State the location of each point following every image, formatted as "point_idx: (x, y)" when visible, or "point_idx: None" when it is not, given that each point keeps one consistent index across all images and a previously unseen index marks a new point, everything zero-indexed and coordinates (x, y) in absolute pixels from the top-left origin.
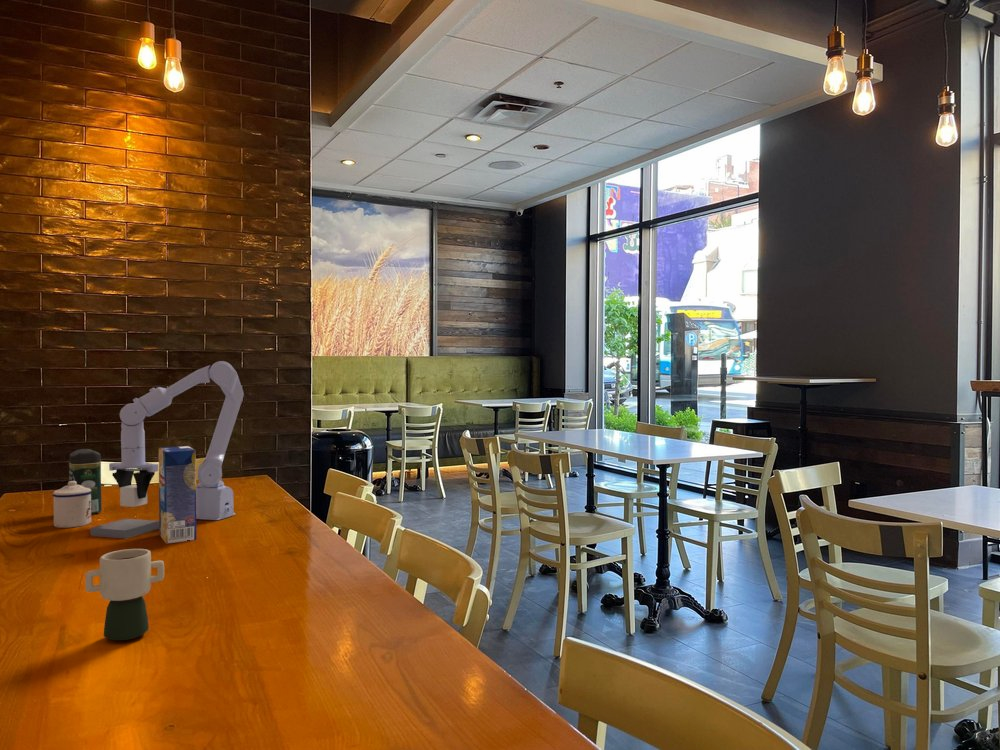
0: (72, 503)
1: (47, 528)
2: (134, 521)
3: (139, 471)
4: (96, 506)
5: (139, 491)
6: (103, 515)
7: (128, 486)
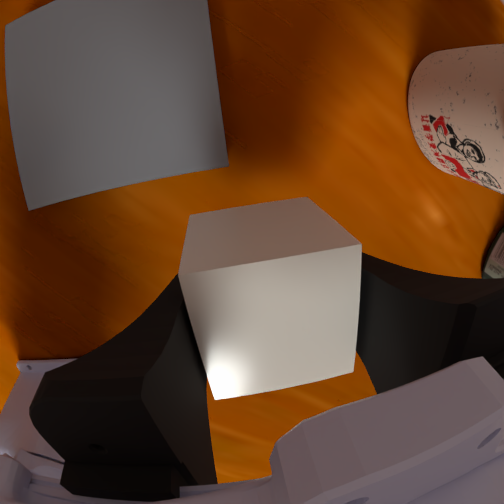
0: (488, 58)
1: (468, 43)
2: (113, 141)
3: (170, 476)
4: (497, 272)
5: (161, 294)
6: (458, 262)
7: (325, 311)
